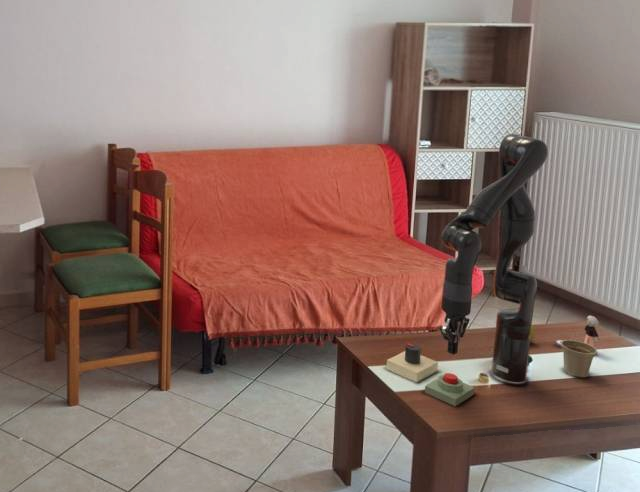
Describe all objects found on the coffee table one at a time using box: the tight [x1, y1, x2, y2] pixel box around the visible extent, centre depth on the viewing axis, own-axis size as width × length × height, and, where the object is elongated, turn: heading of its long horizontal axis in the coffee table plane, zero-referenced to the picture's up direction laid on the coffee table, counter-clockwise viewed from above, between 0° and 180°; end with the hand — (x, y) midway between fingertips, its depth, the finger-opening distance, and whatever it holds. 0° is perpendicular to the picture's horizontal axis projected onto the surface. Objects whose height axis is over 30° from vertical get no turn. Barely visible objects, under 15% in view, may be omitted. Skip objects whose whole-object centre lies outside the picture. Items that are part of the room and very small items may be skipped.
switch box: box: [424, 374, 476, 407], centre depth 198 cm, size 11×9×4 cm
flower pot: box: [560, 339, 598, 378], centre depth 212 cm, size 9×9×9 cm
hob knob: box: [404, 342, 422, 364], centre depth 211 cm, size 4×4×5 cm
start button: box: [443, 372, 458, 384], centre depth 198 cm, size 4×4×2 cm
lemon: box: [530, 324, 535, 342], centre depth 232 cm, size 6×6×8 cm
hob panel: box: [385, 350, 439, 383], centre depth 212 cm, size 12×10×3 cm
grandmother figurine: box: [583, 315, 600, 348], centre depth 226 cm, size 8×4×13 cm, turn 5°
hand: (452, 352), depth 197 cm, fingers closed
